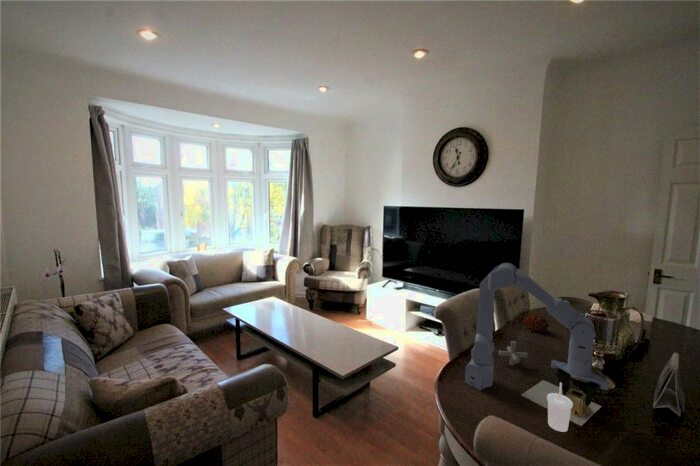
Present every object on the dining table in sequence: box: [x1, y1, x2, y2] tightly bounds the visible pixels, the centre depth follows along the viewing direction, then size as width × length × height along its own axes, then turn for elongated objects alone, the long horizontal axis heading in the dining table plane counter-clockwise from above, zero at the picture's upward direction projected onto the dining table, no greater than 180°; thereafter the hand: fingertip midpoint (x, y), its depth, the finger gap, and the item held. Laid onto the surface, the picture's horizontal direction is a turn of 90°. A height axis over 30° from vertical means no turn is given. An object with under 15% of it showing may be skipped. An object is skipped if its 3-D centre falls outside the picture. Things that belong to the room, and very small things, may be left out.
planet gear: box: [566, 387, 591, 417], centre depth 95 cm, size 7×7×5 cm
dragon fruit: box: [521, 314, 549, 333], centre depth 154 cm, size 8×8×12 cm
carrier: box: [521, 380, 602, 427], centre depth 100 cm, size 15×17×4 cm
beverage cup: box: [547, 381, 573, 433], centre depth 88 cm, size 6×6×14 cm
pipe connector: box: [498, 340, 529, 366], centre depth 121 cm, size 10×10×10 cm
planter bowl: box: [557, 296, 595, 316], centre depth 165 cm, size 16×16×11 cm
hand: (576, 399), depth 95 cm, fingers open, 5 cm apart
